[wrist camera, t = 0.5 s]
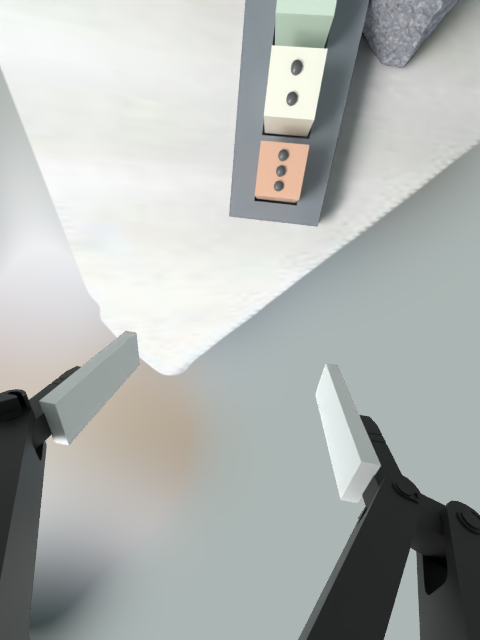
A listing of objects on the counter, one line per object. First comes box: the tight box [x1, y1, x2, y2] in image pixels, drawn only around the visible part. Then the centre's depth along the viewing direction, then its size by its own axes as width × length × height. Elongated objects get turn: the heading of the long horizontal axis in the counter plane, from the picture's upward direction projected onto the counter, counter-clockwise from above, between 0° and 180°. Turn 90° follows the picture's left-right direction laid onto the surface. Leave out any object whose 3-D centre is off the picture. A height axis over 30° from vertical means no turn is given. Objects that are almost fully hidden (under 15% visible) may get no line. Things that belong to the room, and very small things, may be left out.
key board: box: [229, 0, 369, 226], centre depth 28 cm, size 24×12×4 cm, turn 174°
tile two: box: [264, 45, 328, 137], centre depth 24 cm, size 5×5×5 cm
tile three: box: [255, 141, 309, 203], centre depth 27 cm, size 5×5×5 cm
